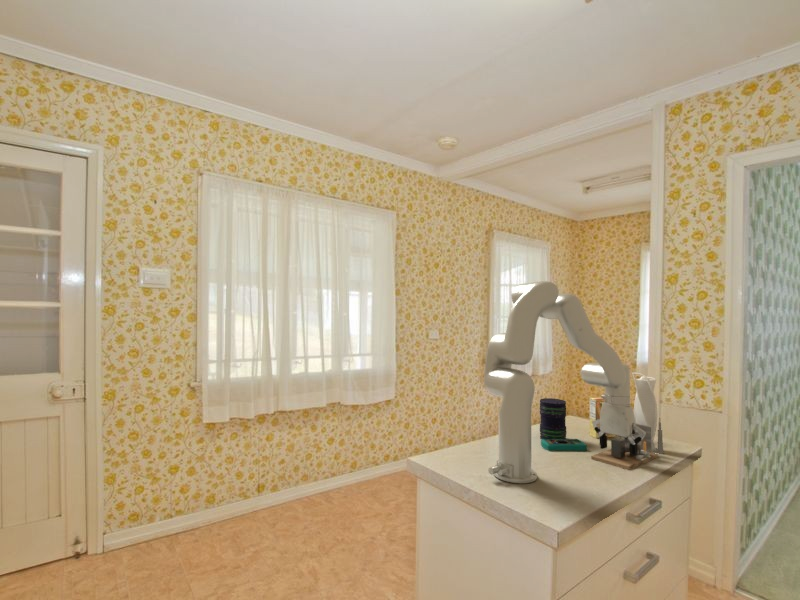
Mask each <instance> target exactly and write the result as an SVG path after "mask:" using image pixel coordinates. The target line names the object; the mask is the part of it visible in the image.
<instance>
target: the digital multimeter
mask: <svg viewBox="0 0 800 600" xmlns="http://www.w3.org/2000/svg"><path fill="white" fill-rule="evenodd" d="M540 445H541V447H542V449H545V450H547V451H548V452H551V451H552V452H557V451H558V452H563V451H566V452H567V451H568V452H570V451H571V452H573V451H574V452H576V451H577V452H586V451H587V450H588V447H587V446H588V445H587V444H586V443H584V442H583V441H582V440H580V439H578V438H566V439H542V440H541V439H540Z"/></svg>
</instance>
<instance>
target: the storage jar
mask: <svg viewBox="0 0 800 600" xmlns="http://www.w3.org/2000/svg"><path fill="white" fill-rule="evenodd" d="M539 415H540V423H539V434H540V436H539V439H540V441H541V440H542V439H567V426H566V417H567V401H566V400H564V399H559V398H553V397H552V398H551V397H550V398H548V397H546V398H540V399H539Z"/></svg>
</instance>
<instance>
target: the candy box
mask: <svg viewBox="0 0 800 600" xmlns="http://www.w3.org/2000/svg"><path fill="white" fill-rule="evenodd" d="M603 402H605V401H604V398H601V397H599V396H598V397H589V436H590V437H593V438H595V439H600V436H598V433H597V432H596V431H595V429H594V426H593V424H592V421H595V420H598V419H600V413H601V407H602V403H603ZM598 425H599V427H600V423H599V424H598ZM605 435H606V436H607V438H616V436H615V435H611V434H607V433H606V434H605Z"/></svg>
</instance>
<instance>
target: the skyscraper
mask: <svg viewBox="0 0 800 600" xmlns="http://www.w3.org/2000/svg"><path fill="white" fill-rule="evenodd" d="M631 374H632V378H633V381H634V386H635V390H636V392H635V397H634V403H633V412H634V417H635V424H639V425H644V426H649V427H651V447H652V453H659V454H658V455H665V453H664V442H663V429H662V422H661V417H659V419H658V407H657V405H658V404H657V401H656V396H655V393H654V391H655V386H656V381H657V379H656V378H655V377H651V376H646V375H644V374H643V373H640V372H632V373H631ZM635 375H639V376H640V378H636V377H635ZM658 420H659V422H658ZM657 427H658V429H657ZM656 431H657V447H656V444H655V442H654V441H655V435H656Z"/></svg>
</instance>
